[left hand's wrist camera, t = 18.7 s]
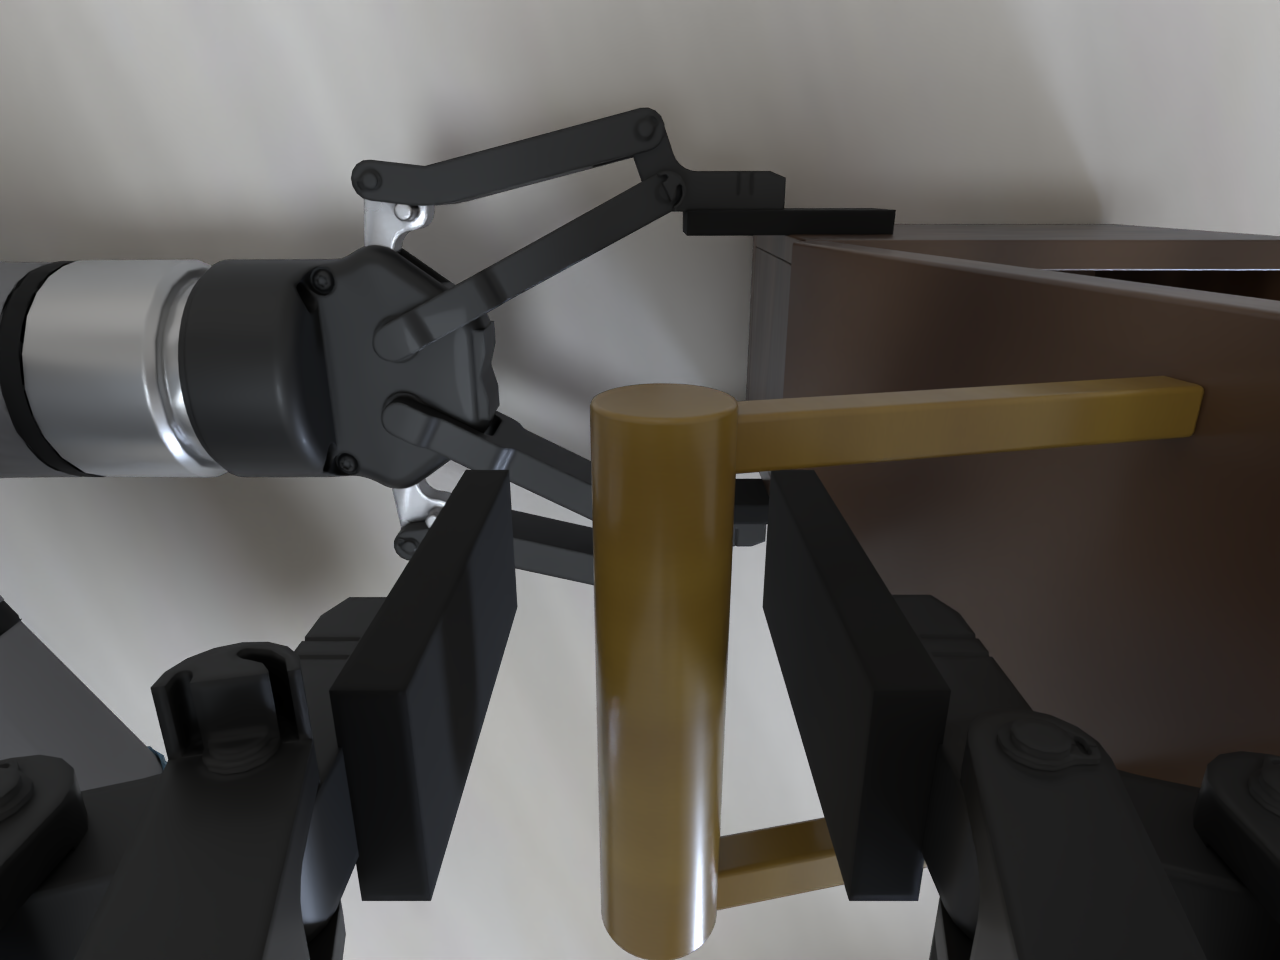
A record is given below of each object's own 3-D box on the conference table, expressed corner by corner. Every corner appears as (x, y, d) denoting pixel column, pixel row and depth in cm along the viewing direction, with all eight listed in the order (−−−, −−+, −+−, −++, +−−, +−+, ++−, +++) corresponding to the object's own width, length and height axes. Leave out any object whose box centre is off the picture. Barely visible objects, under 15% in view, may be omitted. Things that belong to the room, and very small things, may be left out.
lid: (1516, 330, 8) (646, 375, 6) (1266, 995, 11) (644, 1164, 9) (827, 240, 22) (502, 245, 20) (803, 543, 25) (520, 573, 23)
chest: (1113, 224, 33) (1331, 239, 22) (1071, 437, 36) (1246, 538, 26) (754, 224, 33) (805, 239, 22) (744, 437, 36) (784, 537, 26)
